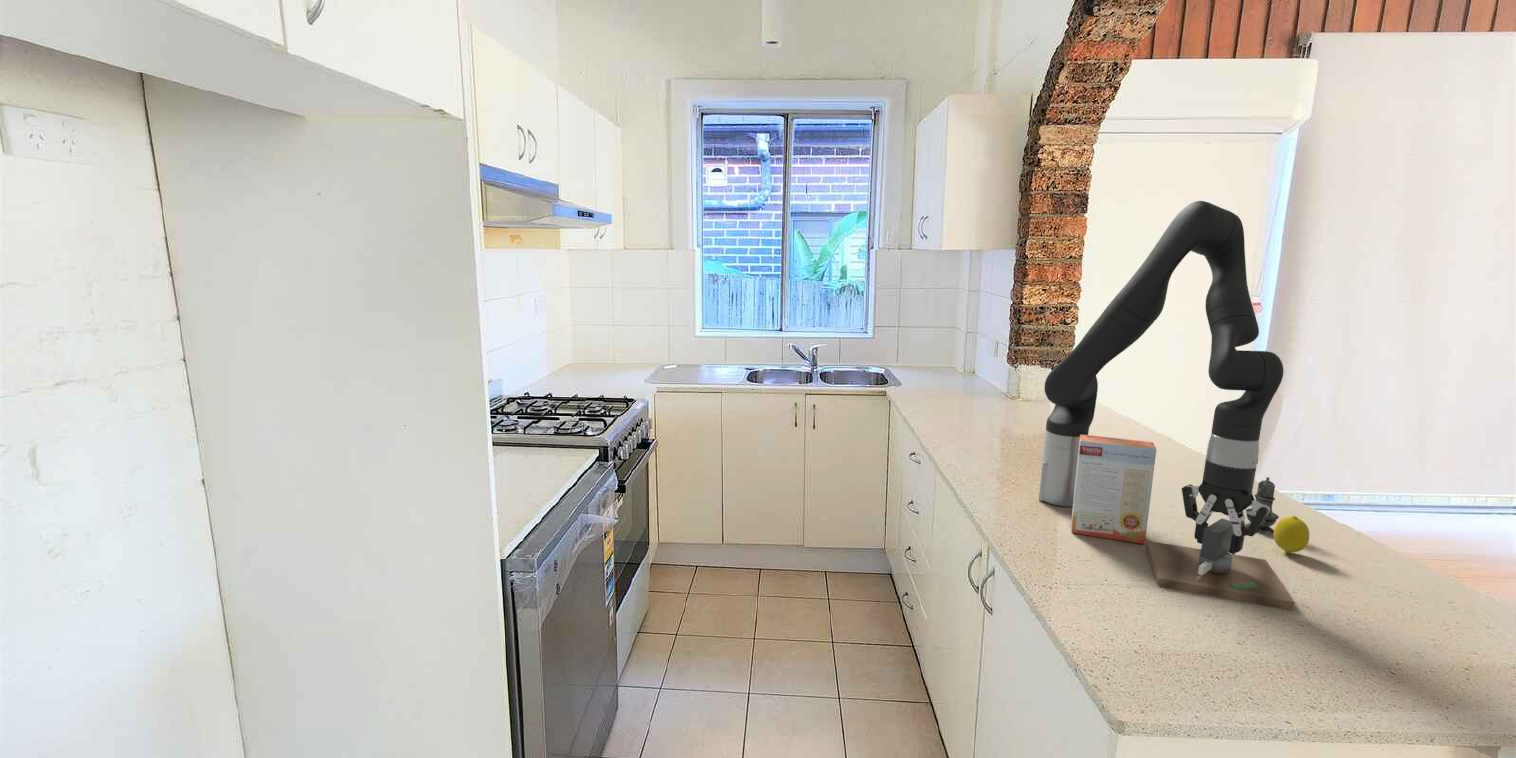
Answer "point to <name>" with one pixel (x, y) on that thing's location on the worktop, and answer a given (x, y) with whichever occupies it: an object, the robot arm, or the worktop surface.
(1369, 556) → the worktop surface
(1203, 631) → the worktop surface
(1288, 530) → the lemon
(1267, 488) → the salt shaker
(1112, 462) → the cracker box
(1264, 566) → the dial plate
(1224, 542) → the dial pointer knob
